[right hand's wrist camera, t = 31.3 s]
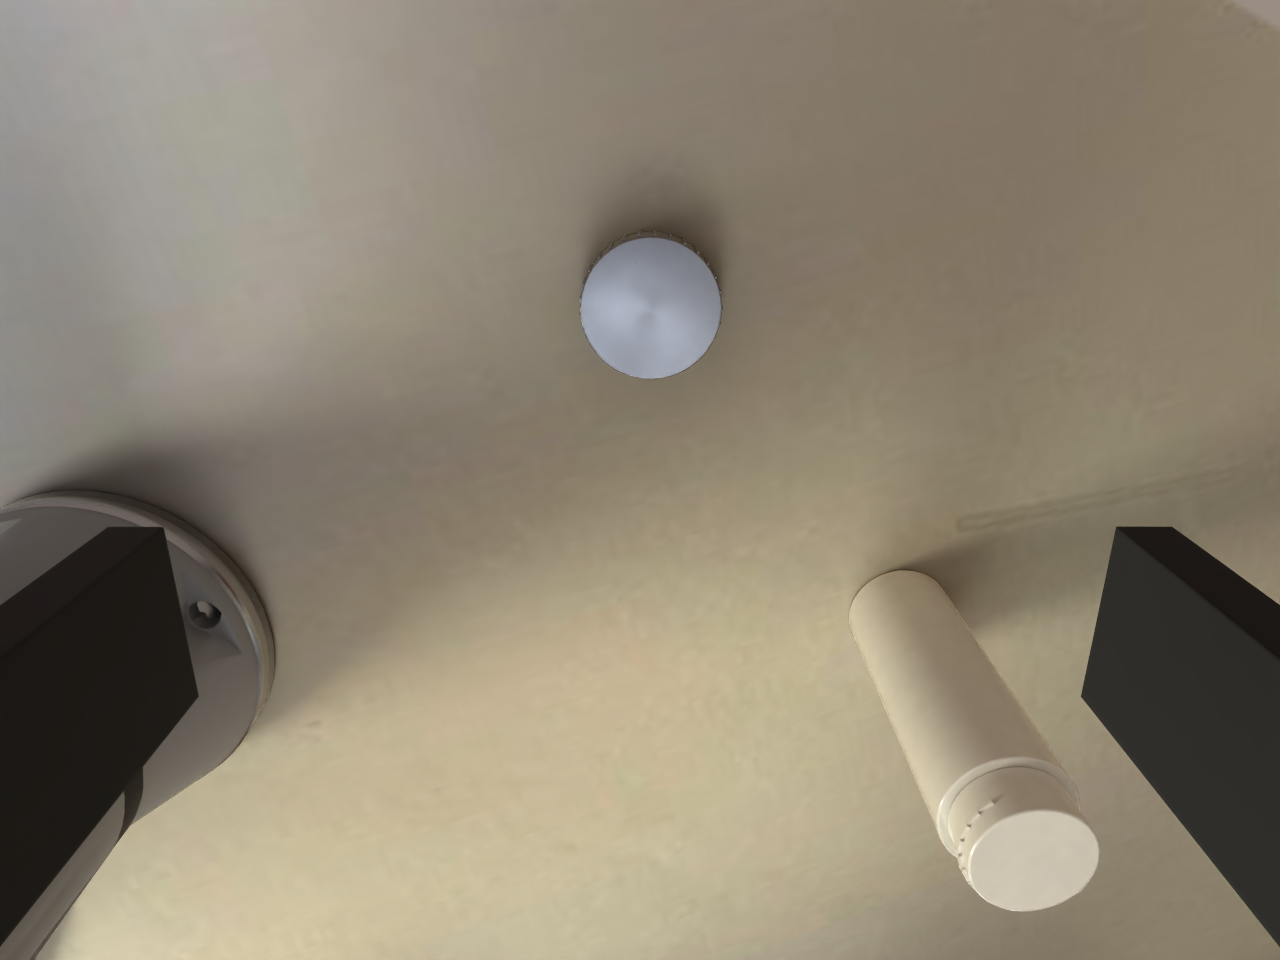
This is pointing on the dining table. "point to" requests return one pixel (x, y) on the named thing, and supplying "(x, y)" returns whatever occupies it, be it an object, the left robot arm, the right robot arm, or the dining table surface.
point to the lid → (650, 305)
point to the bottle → (972, 748)
